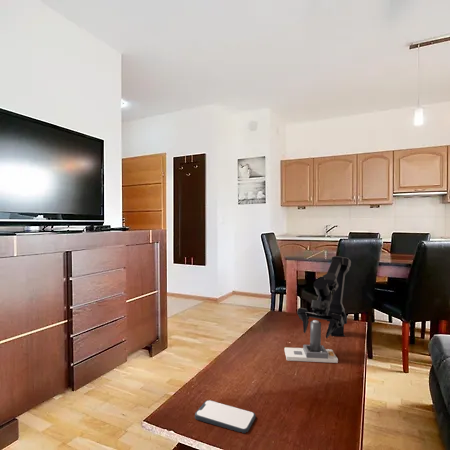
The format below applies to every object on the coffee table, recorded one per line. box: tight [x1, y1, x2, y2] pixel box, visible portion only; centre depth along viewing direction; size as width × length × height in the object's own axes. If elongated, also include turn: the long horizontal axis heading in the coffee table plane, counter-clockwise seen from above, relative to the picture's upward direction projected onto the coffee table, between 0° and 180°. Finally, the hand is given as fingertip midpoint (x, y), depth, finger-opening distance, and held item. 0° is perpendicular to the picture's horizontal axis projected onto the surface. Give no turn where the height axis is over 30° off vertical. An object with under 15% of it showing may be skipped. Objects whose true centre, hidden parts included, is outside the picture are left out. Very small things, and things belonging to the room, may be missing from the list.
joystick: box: [309, 319, 322, 352], centre depth 132 cm, size 4×4×14 cm
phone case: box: [194, 399, 256, 434], centre depth 91 cm, size 9×2×16 cm
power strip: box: [284, 344, 339, 364], centre depth 133 cm, size 20×10×4 cm, turn 85°
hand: (315, 335), depth 132 cm, fingers open, 9 cm apart
